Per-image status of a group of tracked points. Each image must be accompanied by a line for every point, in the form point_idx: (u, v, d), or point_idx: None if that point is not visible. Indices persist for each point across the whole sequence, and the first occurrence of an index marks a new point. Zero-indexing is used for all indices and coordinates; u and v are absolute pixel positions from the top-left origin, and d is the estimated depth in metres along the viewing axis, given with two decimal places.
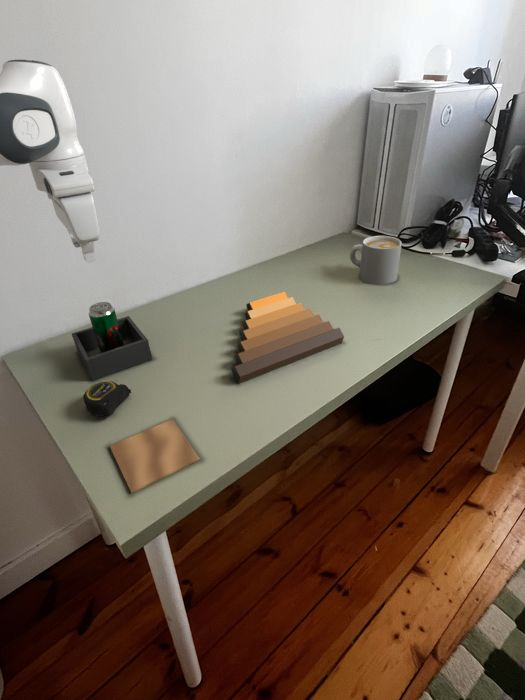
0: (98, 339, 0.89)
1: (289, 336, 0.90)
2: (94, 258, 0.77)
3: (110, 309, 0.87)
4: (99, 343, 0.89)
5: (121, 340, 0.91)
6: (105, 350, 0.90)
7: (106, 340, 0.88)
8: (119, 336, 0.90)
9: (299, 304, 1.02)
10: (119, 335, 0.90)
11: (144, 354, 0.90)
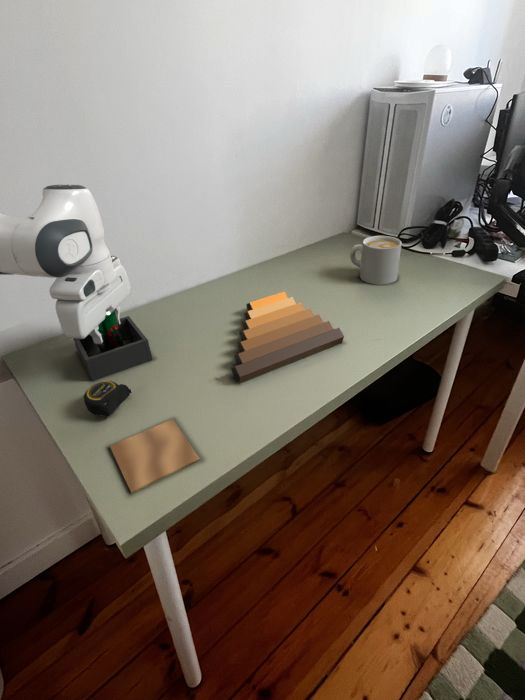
0: None
1: (289, 336, 0.90)
2: (100, 342, 0.87)
3: (110, 309, 0.87)
4: None
5: (121, 340, 0.91)
6: (105, 350, 0.90)
7: (106, 340, 0.88)
8: (119, 336, 0.90)
9: (299, 304, 1.02)
10: (119, 335, 0.90)
11: (144, 354, 0.90)
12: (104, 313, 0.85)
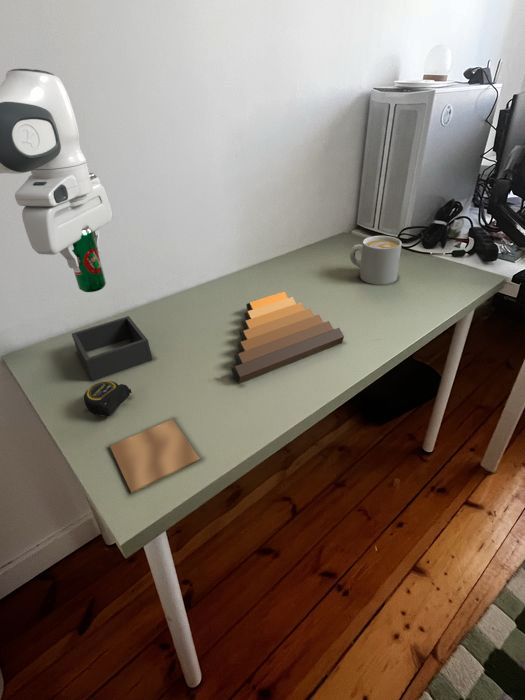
0: None
1: (289, 336, 0.90)
2: (75, 266, 0.77)
3: (87, 229, 0.77)
4: (75, 269, 0.80)
5: (100, 268, 0.82)
6: (82, 278, 0.80)
7: (82, 265, 0.79)
8: (98, 263, 0.81)
9: (299, 304, 1.02)
10: (98, 261, 0.81)
11: (144, 354, 0.90)
12: (80, 232, 0.76)
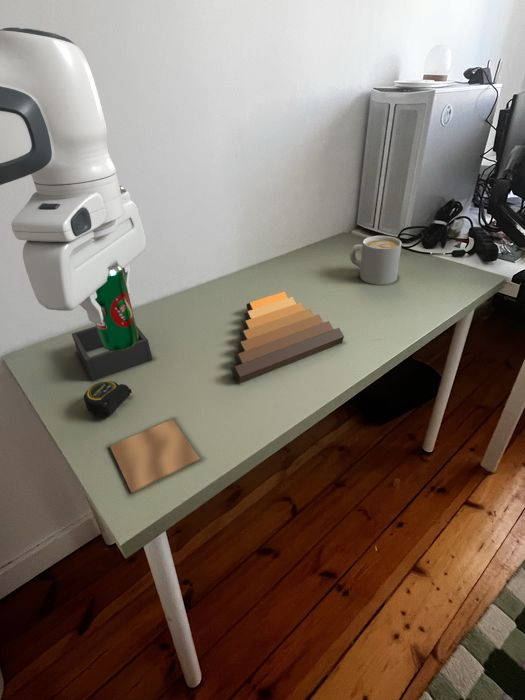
0: None
1: (289, 336, 0.90)
2: (99, 319, 0.54)
3: (116, 267, 0.54)
4: None
5: (132, 318, 0.59)
6: (107, 333, 0.57)
7: (108, 317, 0.56)
8: (129, 312, 0.58)
9: (299, 304, 1.02)
10: (129, 310, 0.58)
11: (144, 354, 0.90)
12: (106, 272, 0.53)
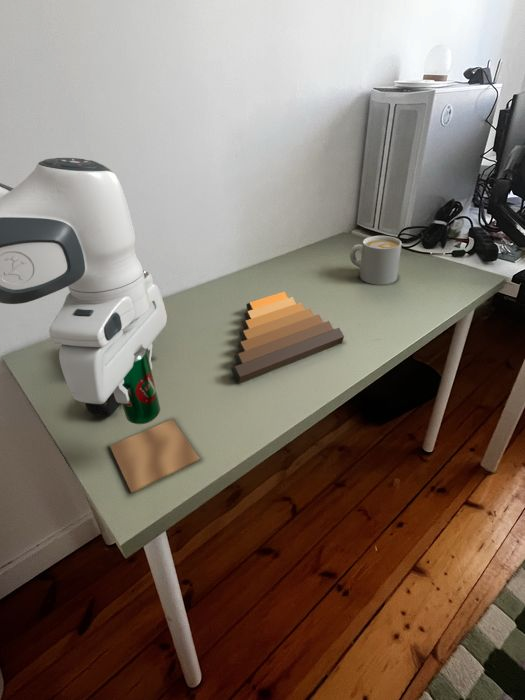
0: None
1: (289, 336, 0.90)
2: (125, 401, 0.58)
3: (141, 352, 0.58)
4: None
5: (155, 394, 0.62)
6: (132, 410, 0.61)
7: (134, 396, 0.59)
8: (152, 389, 0.61)
9: (299, 304, 1.02)
10: (152, 387, 0.61)
11: None
12: (132, 359, 0.56)
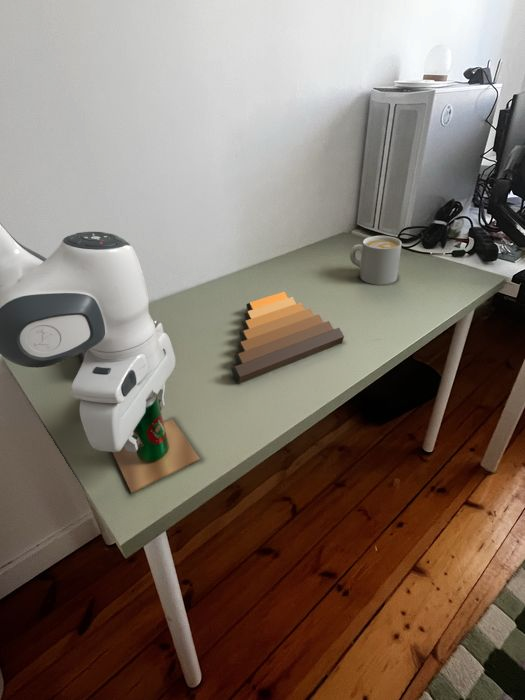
0: None
1: (289, 336, 0.90)
2: (134, 450, 0.61)
3: (152, 397, 0.62)
4: None
5: (164, 434, 0.67)
6: (143, 449, 0.65)
7: (145, 438, 0.64)
8: (162, 430, 0.66)
9: (299, 304, 1.02)
10: (162, 428, 0.66)
11: None
12: (145, 406, 0.61)
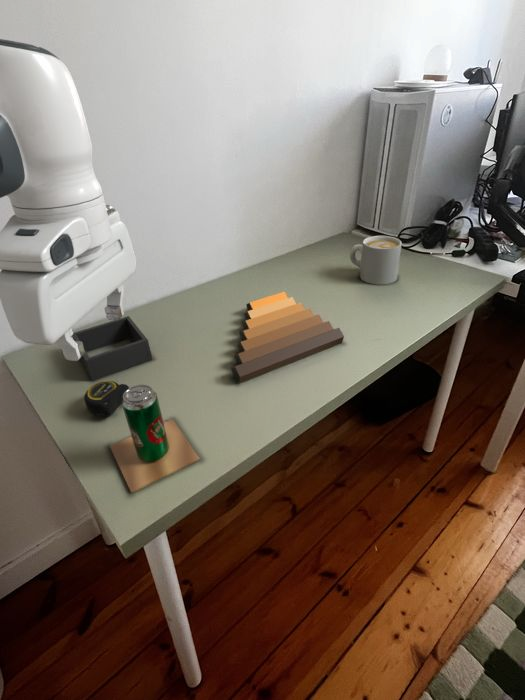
0: (134, 436, 0.64)
1: (289, 336, 0.90)
2: (76, 357, 0.49)
3: (152, 397, 0.62)
4: (135, 440, 0.65)
5: (164, 434, 0.67)
6: (143, 449, 0.65)
7: (145, 438, 0.64)
8: (162, 430, 0.66)
9: (299, 304, 1.02)
10: (162, 428, 0.66)
11: (144, 354, 0.90)
12: (91, 300, 0.49)
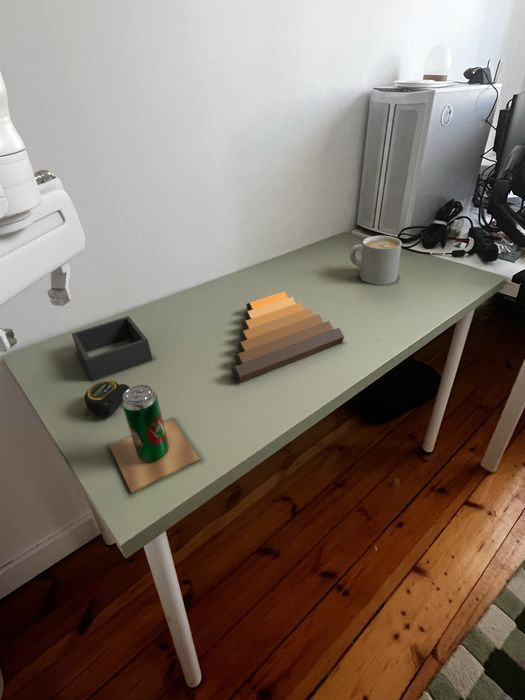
0: (134, 436, 0.64)
1: (289, 336, 0.90)
2: (4, 348, 0.42)
3: (152, 397, 0.62)
4: (135, 440, 0.65)
5: (164, 434, 0.67)
6: (143, 449, 0.65)
7: (145, 438, 0.64)
8: (162, 430, 0.66)
9: (299, 304, 1.02)
10: (162, 428, 0.66)
11: (144, 354, 0.90)
12: (20, 280, 0.41)
